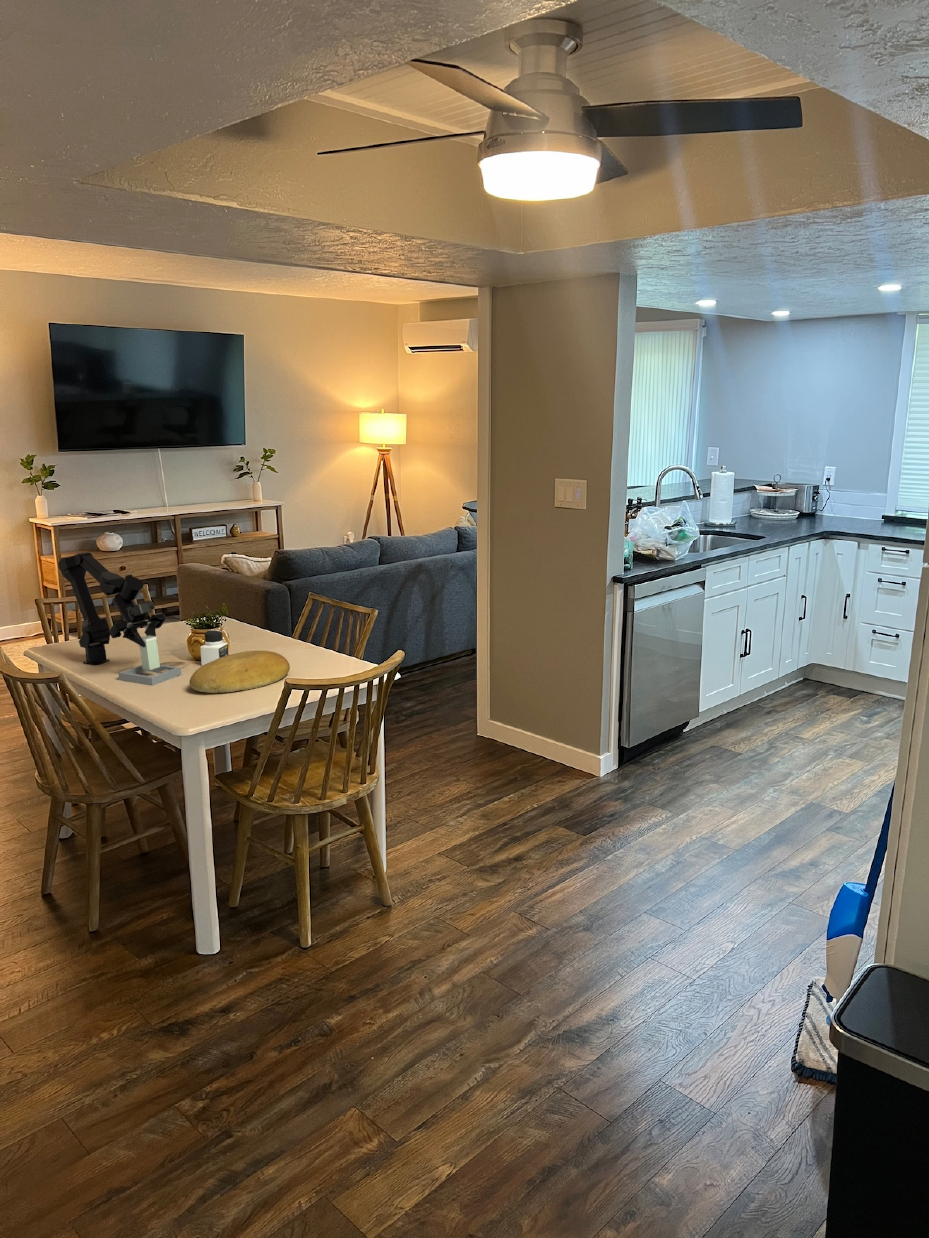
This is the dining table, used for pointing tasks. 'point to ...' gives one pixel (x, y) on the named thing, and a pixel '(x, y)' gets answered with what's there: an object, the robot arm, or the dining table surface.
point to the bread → (240, 672)
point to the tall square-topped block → (149, 653)
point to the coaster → (174, 664)
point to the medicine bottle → (213, 647)
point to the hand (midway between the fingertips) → (150, 645)
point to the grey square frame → (134, 676)
